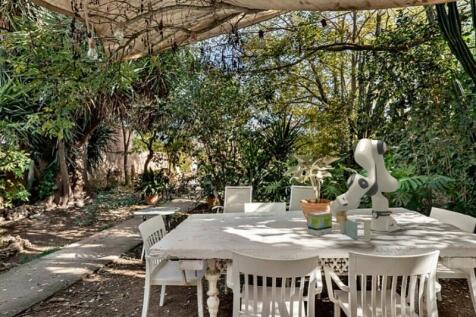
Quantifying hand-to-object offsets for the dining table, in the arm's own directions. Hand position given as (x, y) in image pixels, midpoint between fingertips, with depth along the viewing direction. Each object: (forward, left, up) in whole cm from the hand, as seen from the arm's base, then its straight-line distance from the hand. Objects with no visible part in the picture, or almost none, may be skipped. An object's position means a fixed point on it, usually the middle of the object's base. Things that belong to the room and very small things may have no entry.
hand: (339, 213), depth 236 cm
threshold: (-19, -5, -19) cm, 27 cm away
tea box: (-6, -26, -19) cm, 33 cm away
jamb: (-19, +6, -19) cm, 27 cm away
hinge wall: (-19, -17, -19) cm, 31 cm away
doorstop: (0, +3, -5) cm, 6 cm away
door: (-16, -6, -18) cm, 25 cm away
